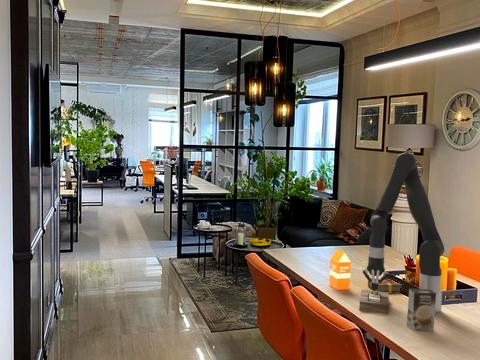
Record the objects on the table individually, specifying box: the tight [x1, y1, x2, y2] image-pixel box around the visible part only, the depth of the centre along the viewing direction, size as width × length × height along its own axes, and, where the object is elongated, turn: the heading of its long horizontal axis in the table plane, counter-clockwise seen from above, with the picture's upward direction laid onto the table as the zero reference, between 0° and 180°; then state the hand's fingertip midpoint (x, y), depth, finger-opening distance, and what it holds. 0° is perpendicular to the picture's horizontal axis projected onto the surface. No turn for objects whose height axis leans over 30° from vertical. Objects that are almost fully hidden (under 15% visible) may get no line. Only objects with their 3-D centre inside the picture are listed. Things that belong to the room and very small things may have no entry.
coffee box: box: [406, 288, 436, 332], centre depth 198 cm, size 9×6×16 cm
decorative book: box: [367, 278, 403, 294], centre depth 252 cm, size 11×16×5 cm
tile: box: [369, 294, 380, 302], centre depth 225 cm, size 10×5×2 cm, turn 163°
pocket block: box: [358, 289, 390, 314], centre depth 227 cm, size 20×13×4 cm, turn 163°
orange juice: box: [329, 248, 352, 291], centre depth 254 cm, size 8×9×20 cm
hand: (374, 290), depth 233 cm, fingers closed
